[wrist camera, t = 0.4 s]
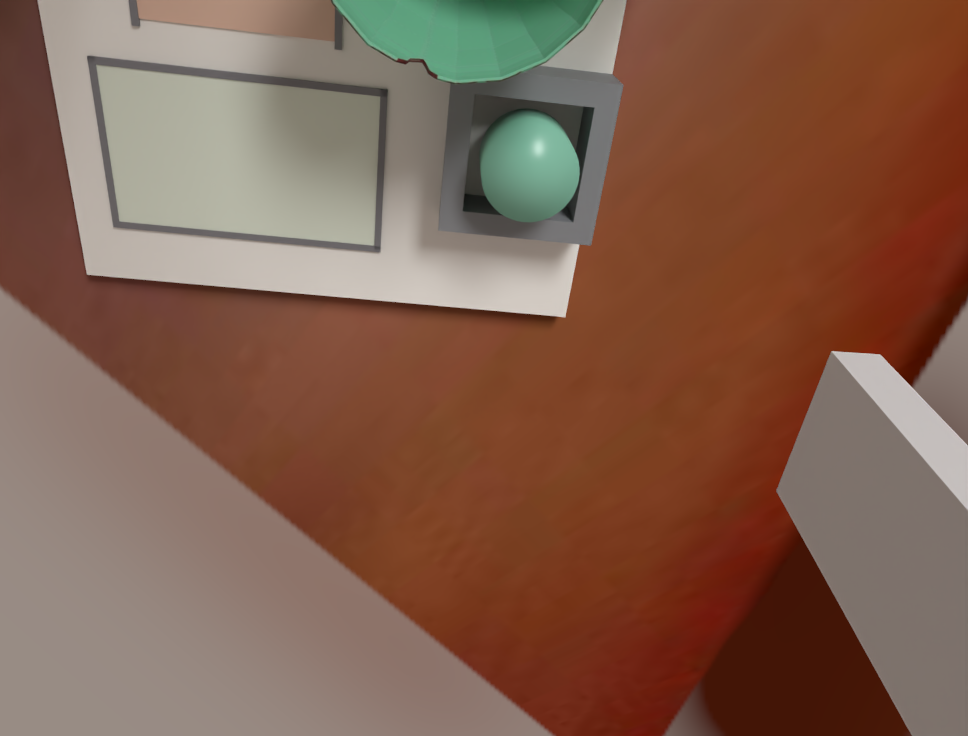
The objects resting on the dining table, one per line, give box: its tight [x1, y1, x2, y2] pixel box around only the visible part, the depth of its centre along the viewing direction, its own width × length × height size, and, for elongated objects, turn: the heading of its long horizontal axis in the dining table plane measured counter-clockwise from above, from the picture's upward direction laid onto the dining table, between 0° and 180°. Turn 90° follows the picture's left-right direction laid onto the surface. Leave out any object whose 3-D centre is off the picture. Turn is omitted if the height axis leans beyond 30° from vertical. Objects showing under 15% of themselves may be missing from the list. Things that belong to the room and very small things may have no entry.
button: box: [479, 108, 580, 222], centre depth 31 cm, size 4×4×3 cm
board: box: [38, 0, 627, 317], centre depth 32 cm, size 17×24×4 cm
